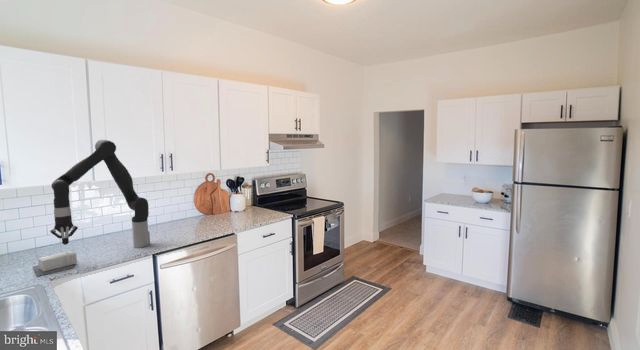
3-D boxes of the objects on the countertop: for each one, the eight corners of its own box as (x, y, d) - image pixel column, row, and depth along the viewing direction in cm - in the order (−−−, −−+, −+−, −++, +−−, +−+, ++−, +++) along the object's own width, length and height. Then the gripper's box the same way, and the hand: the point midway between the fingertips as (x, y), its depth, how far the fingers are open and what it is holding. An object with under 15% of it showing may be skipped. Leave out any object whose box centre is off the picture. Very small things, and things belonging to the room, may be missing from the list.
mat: (68, 259, 195) (68, 258, 195) (74, 267, 183) (74, 266, 182) (33, 267, 183) (32, 266, 183) (37, 276, 171) (37, 275, 171)
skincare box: (72, 260, 192) (38, 269, 180) (71, 249, 191) (37, 257, 179) (77, 263, 187) (43, 272, 175) (76, 252, 186) (41, 260, 174)
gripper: (75, 211, 191) (78, 240, 193) (46, 215, 182) (49, 245, 184) (78, 213, 186) (81, 243, 188) (48, 218, 177) (51, 248, 179)
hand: (65, 244), depth 186 cm, fingers closed
